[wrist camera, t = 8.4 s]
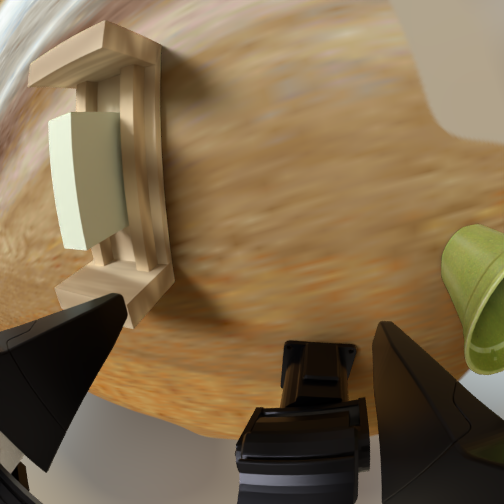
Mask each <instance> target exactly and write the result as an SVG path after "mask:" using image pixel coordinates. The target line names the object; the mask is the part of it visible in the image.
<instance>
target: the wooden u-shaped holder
mask: <svg viewBox="0 0 504 504" xmlns="http://www.w3.org/2000/svg"><path fill="white" fill-rule="evenodd" d="M160 72H161V44H159V43H156V42H154V41H152V40H150V39H148V38H146V37H144V36H142V35H140V34H137V33H135V32H133V31H131V30H128V29H126V28H124V27H121V26H119V25H117V24H114V23H112V22H109V21H106V20H104V21H102V22H100V23H98V24H96V25H94V26H92V27H90V28H88V29H86V30H84V31H82V32H80V33H78V34H77V35H75V36H73V37H71V38H69V39H68V40H66V41H64V42H63V43H61V44H59V45H58V46H56V47H54V48H53V49H51V50H50V51H48V52H47V53H45V54H44V55H42V56H41V57H39V58H38V59H36V60H35V61H33V62H32V63H31V64H30V68H29V78H28V87H54V88H75V89H76V112H120V132H121V152H122V166H123V178H124V188H125V197H126V205H127V213H128V220H129V226H127V227H125V228H124V229H122V230H120V231H118V232H117V233H115V234H113V235H112V236H110V237H108V238H106V239H105V240H103V241H101V242H100V243H98V244H96V245H95V246H93V247H91V250H92V254H93V259H94V260H93V261H92V262H90V263H89V264H87V265H86V266H84V267H83V268H81V269H80V270H79V271H77V272H76V273H74V274H73V275H71V276H70V277H69V278H67V279H66V280H64V281H63V282H62V283H60V284H59V285H58V286H56V287H55V291H56V294H57V297H58V300H59V303H60V305H61V308H62V309H64V310H65V309H68V308H71V307H74V306H76V305H79V304H82V303H85V302H88V301H90V300H93V299H96V298H99V297H102V296H104V295H107V294H110V293H118V294H121V295H122V296H123V297H124V301H125V304H126V308H127V312H128V317H127V320H126V322H125V324H124V326H123V327H127V328H131V329H134V328H135V327H136V326H137V325H138V323H139V322H140V321H141V320H142V319H143V318H144V316H145V315H146V314H147V313H148V312H149V311H150V310H151V308H152V307H153V306H154V305H155V304H156V303H157V301H158V300H159V299H160V298H161V297H162V296H163V295H164V294H165V292H166V291H167V290H168V289H169V288H170V287H171V286H172V285H173V283H174V282H175V278H174V272H173V265H172V257H171V250H170V242H169V233H168V225H167V215H166V205H165V193H164V181H163V166H162V148H161V119H160Z"/></svg>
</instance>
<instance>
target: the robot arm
mask: <svg viewBox="0 0 504 504" xmlns="http://www.w3.org/2000/svg"><path fill="white" fill-rule="evenodd" d="M127 317H128V312H127V308H126V304H125V301H124V297H123V296H122V295H121V294H118V293H110V294H107V295H104V296H102V297H99V298H96V299H93V300H90V301H88V302H85V303H82V304H79V305H76V306H74V307H71V308H68V309H65V310H62V311H60V312H57V313H54V314H51V315H48V316H46V317H43V318H40V319H38V320H34V321H32V322H29V323H26V324H23V325H20V326H17V327H14V328H11V329H7V330H4V331H1V332H0V504H42V503H41V502H40V501H39V500H38V499H37V498H36V497H34V496H33V495H32V494H31V493H30V492H29V485H28V479H27V473H26V466H25V465H24V464H23V463H22V462H21V461H20V460H21V459H22V458H23V456H24V455H26V456H27V457H28V458H29V459H30V460H31V461H32V462H33V463H35V464H36V465H37V466H38V467H40V468H41V469H42V470H43V471H45V472H46V473H47V471H48V470H49V468H50V466H51V463H52V461H53V459H54V457H55V455H56V453H57V450H58V448H59V446H60V444H61V442H62V440H63V438H64V436H65V434H66V431H67V429H68V428H69V426H70V424H71V422H72V420H73V418H74V416H75V414H76V412H77V410H78V408H79V406H80V405H81V403H82V400H83V399H84V397H85V395H86V394H87V392H88V390H89V388H90V386H91V385H92V383H93V381H94V379H95V378H96V376H97V374H98V372H99V371H100V369H101V367H102V366H103V364H104V362H105V360H106V359H107V357H108V355H109V354H110V352H111V350H112V348H113V346H114V344H115V342H116V340H117V338H118V336H119V334H120V332H121V330H122V328H123V326H124V324H125V322H126V320H127ZM289 346H292V347H289ZM351 349H352V350H351ZM350 350H351V351H350ZM372 353H373V382H374V395H375V403H376V411H377V420H378V430H379V442H380V456H381V476H382V504H504V420H503V419H502V418H500V417H499V416H498V415H496V414H495V413H494V412H493V411H492V410H490V409H489V408H488V407H486V406H485V405H484V404H483V403H482V402H481V401H479V400H478V399H477V398H476V397H475V396H473V395H472V394H471V393H470V392H469V391H468V390H467V389H466V388H465V387H463V385H461V384H460V383H459V382H458V381H457V382H456V379H455V378H454V377H453V376H452V375H451V374H450V373H449V372H447V371H446V370H445V369H444V368H443V367H442V366H441V365H440V364H439V363H438V362H437V361H435V360H434V359H433V358H432V357H431V356H430V355H429V354H428V353H427V352H426V351H424V350H423V349H422V348H421V347H420V346H419V345H418V344H417V343H415V342H414V341H413V340H412V339H411V338H410V337H409V336H408V335H406V334H405V333H404V332H403V331H402V330H401V329H400V328H398V327H397V326H396V325H395V324H394V323H393V322H391V321H380V322H379V324H378V326H377V329H376V333H375V336H374V340H373V344H372ZM355 355H356V346H355V345H352V344H332V343H315V342H302V341H286V342H285V344H284V353H283V365H282V376H281V388H283V393H282V399H281V404H280V408H263V407H256V409H255V411H254V413H253V415H252V416H251V418H250V420H249V422H248V424H247V426H246V427H245V429H244V431H243V433H242V434H241V436H240V438H239V440H238V442H237V444H236V451H235V456H236V464H237V468H238V471H239V472H240V485H239V494H238V502H237V504H354V503H355V502H356V500H357V497H358V473H359V472H366V471H369V469H370V438H369V426H368V416H367V408H366V400H365V397H363V398H358V400H352V401H349V399H348V381H347V380H348V377H349V374H350V371H351V368H352V365H353V361H354V358H355Z"/></svg>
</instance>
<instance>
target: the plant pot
mask: <svg viewBox="0 0 504 504" xmlns="http://www.w3.org/2000/svg"><path fill="white" fill-rule="evenodd" d="M441 277H442V280H443V282H444V284H445V286H446V288H447V290H448V293H449V295H450V297H451V299H452V302H453V304H454V306H455V309H456V311H457V313H458V316H459V318H460V321H461V323H462V326H463V335H464V340H465V342H464V357H465V360H466V363H467V365H468V367H469V368H470V369H471V370H472V371H473V372H475V373H477V374H483V375H491V374H494V373H498V372H501V371H503V370H504V233H501V232H499V231H496V230H494V229H491V228H488V227H486V226H483V225H480V224H475V225H470V226H466V227H463V228H461V229H460V230H458V231H457V232H456V233H455V234H454V235H453V236H452V238H451V239H450V240H449V242H448V243H447V245H446V247H445V249H444V251H443V254H442V262H441Z"/></svg>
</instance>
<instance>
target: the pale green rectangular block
mask: <svg viewBox="0 0 504 504" xmlns="http://www.w3.org/2000/svg"><path fill="white" fill-rule="evenodd" d="M48 128H49V150H50V163H51V173H52V182H53V189H54V196H55V203H56V209H57V215H58V220H59V225H60V230H61V235H62V239H63V244H64V248H68V249H78V250H88V249H90V248H91V247H93V246H95V245H96V244H98V243H100V242H101V241H103V240H105V239H106V238H108V237H110V236H112V235H113V234H115V233H117V232H118V231H120V230H122V229H124V228H125V227H127V226H129V220H128V213H127V205H126V197H125V188H124V178H123V166H122V152H121V132H120V112H70V113H67V114H65V115H62V116H60V117H57V118H55V119H53V120H50V121H48Z"/></svg>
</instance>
